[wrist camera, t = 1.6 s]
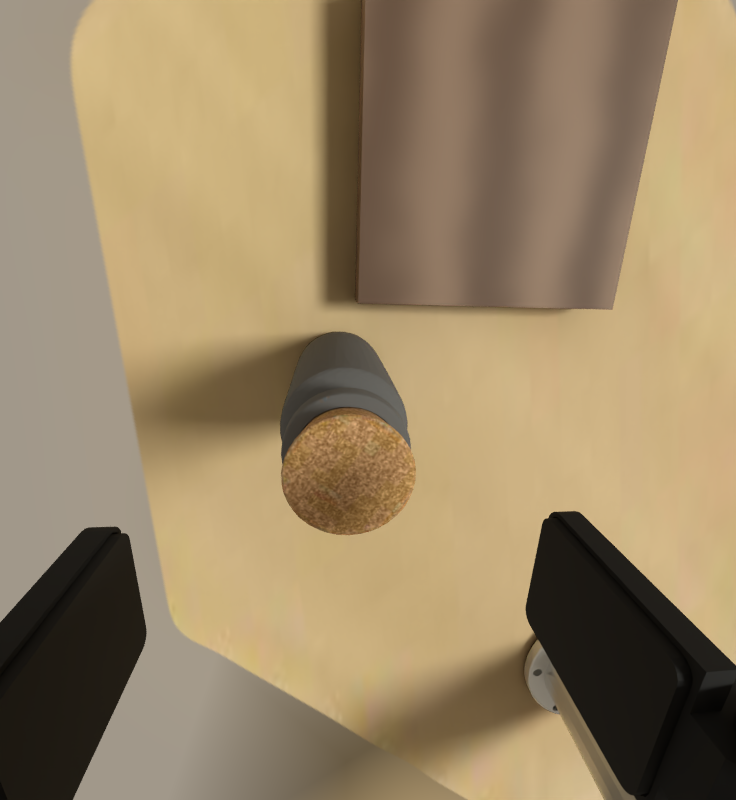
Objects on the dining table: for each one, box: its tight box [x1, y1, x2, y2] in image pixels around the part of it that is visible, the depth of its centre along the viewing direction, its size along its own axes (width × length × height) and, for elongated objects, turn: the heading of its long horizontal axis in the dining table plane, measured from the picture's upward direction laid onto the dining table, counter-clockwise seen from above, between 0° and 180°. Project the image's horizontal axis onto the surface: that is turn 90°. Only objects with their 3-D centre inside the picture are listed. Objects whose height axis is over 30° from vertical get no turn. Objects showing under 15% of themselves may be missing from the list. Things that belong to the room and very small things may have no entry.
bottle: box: [280, 332, 416, 535], centre depth 21 cm, size 6×6×15 cm
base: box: [355, 0, 678, 310], centre depth 24 cm, size 16×16×3 cm
